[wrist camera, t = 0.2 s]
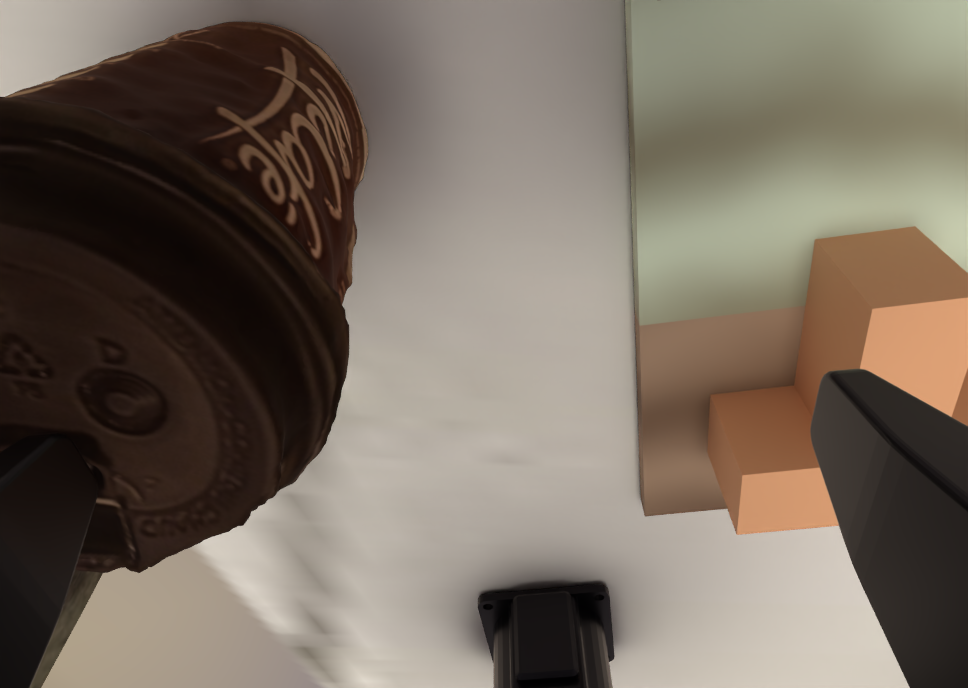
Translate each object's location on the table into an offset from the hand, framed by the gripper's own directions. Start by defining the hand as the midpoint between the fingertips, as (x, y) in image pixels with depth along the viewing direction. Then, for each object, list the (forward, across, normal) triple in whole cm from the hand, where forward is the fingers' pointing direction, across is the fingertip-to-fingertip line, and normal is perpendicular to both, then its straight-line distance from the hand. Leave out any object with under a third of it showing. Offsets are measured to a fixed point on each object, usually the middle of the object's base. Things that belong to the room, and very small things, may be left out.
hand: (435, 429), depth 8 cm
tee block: (+13, -12, +10) cm, 21 cm away
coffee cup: (+15, +6, +1) cm, 16 cm away
